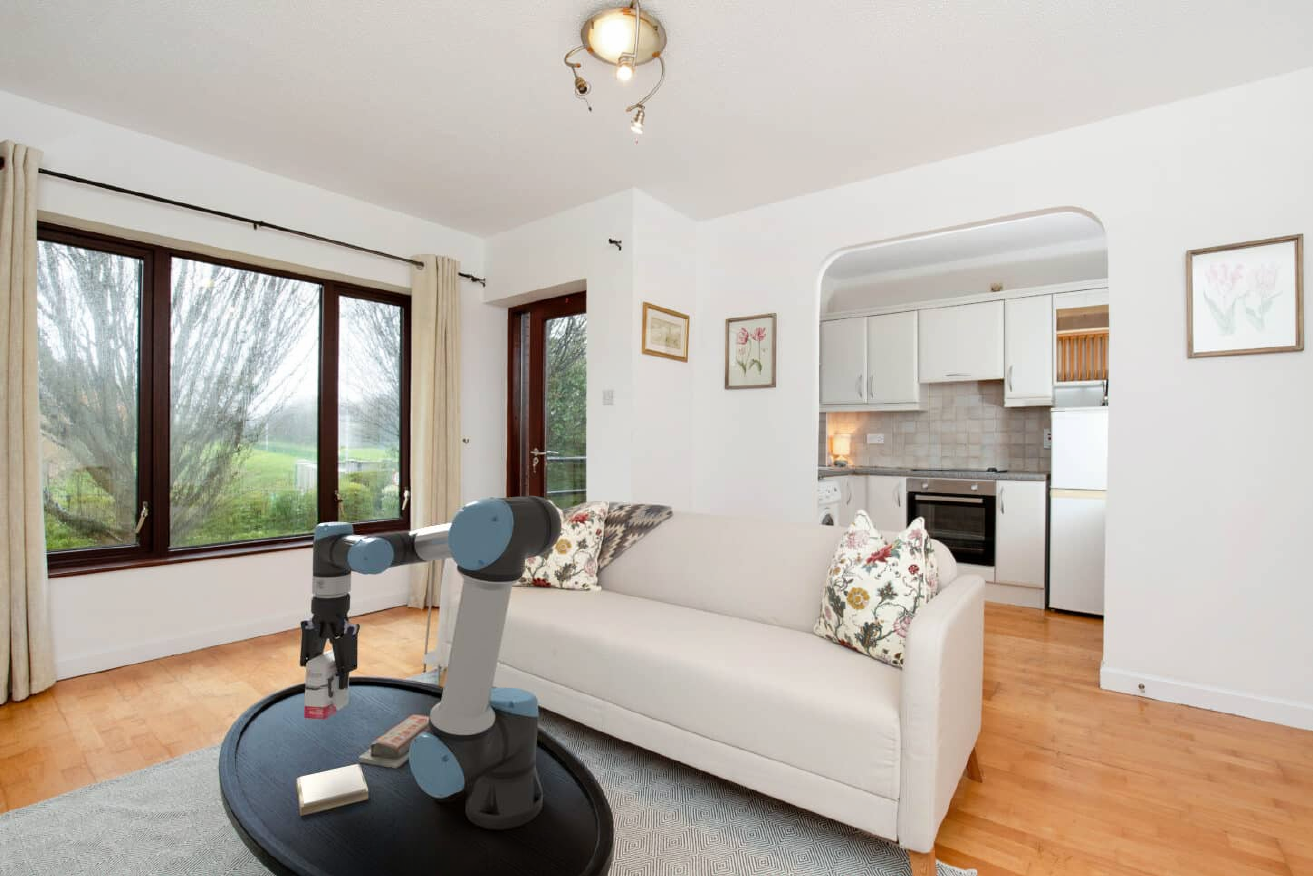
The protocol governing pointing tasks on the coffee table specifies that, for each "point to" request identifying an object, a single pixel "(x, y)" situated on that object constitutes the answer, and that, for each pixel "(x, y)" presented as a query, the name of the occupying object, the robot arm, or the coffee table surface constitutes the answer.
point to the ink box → (321, 687)
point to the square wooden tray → (331, 789)
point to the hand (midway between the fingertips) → (327, 701)
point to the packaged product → (395, 743)
